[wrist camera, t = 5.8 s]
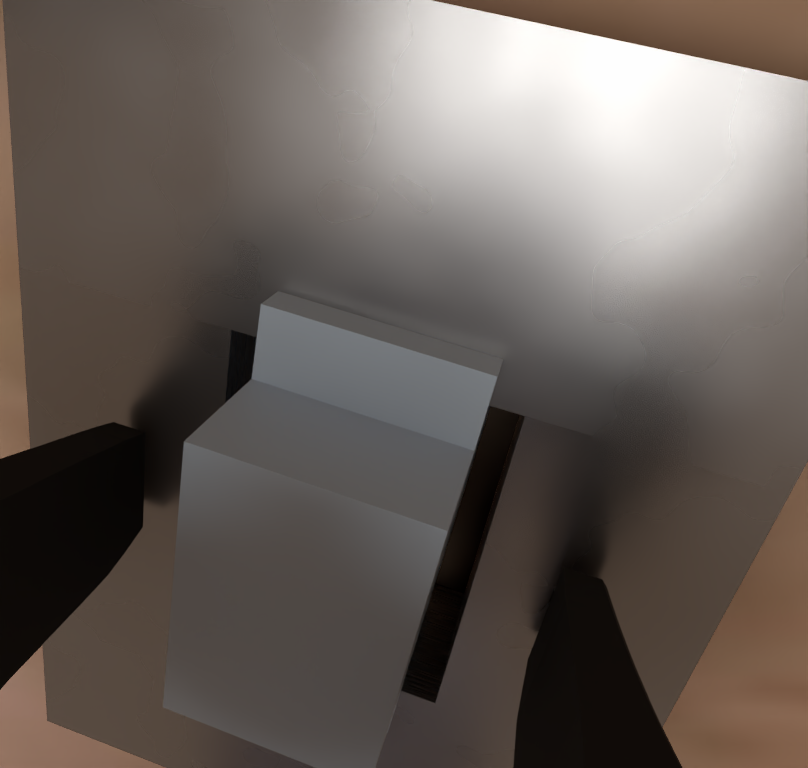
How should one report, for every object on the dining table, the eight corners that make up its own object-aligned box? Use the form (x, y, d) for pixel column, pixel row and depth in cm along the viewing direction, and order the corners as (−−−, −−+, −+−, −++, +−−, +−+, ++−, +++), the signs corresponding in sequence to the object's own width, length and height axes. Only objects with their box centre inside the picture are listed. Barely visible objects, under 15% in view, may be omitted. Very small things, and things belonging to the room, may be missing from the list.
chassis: (564, 789, 17) (556, 921, 15) (124, 628, 19) (47, 720, 17) (893, 102, 10) (992, 121, 8) (133, -62, 12) (-4, -94, 9)
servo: (428, 604, 16) (352, 841, 11) (289, 555, 17) (158, 763, 12) (525, 294, 13) (473, 446, 8) (344, 242, 13) (191, 355, 8)
